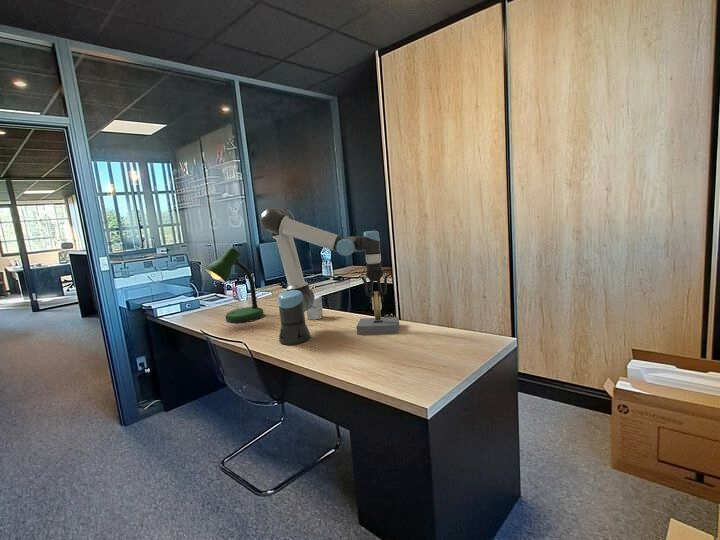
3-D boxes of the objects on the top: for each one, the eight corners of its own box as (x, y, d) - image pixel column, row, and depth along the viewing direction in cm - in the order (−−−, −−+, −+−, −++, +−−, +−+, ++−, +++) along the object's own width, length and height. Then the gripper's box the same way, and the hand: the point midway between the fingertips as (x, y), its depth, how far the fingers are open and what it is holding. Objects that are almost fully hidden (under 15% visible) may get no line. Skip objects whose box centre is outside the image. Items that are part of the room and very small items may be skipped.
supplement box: (306, 319, 217) (304, 298, 215) (312, 316, 224) (310, 295, 222) (318, 319, 215) (316, 298, 213) (323, 316, 222) (321, 295, 220)
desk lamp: (221, 328, 213) (210, 250, 206) (207, 322, 230) (196, 249, 223) (270, 316, 233) (261, 244, 226) (253, 311, 250) (245, 244, 243)
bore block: (398, 333, 180) (397, 325, 179) (357, 334, 183) (356, 326, 182) (399, 324, 193) (398, 317, 193) (361, 325, 196) (360, 318, 196)
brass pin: (380, 320, 186) (378, 292, 184) (374, 320, 186) (372, 292, 184) (381, 318, 189) (379, 291, 187) (375, 318, 189) (373, 291, 187)
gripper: (390, 260, 186) (393, 306, 189) (358, 262, 188) (362, 307, 191) (389, 262, 178) (392, 310, 182) (356, 264, 181) (360, 311, 184)
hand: (377, 308), depth 186 cm, fingers closed on brass pin, 3 cm apart
